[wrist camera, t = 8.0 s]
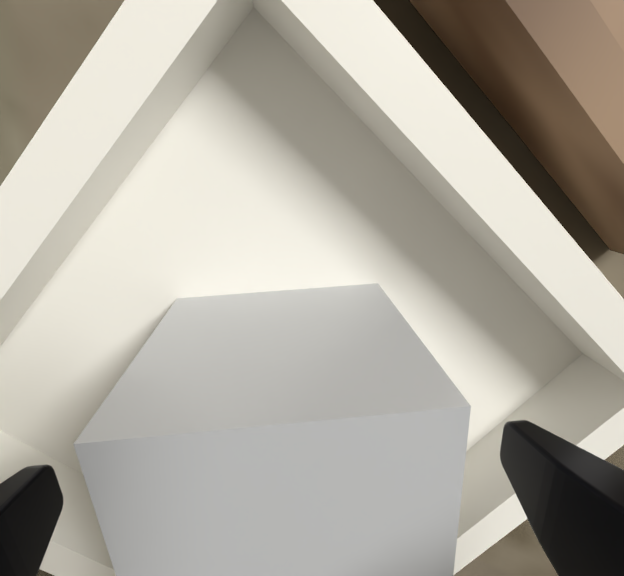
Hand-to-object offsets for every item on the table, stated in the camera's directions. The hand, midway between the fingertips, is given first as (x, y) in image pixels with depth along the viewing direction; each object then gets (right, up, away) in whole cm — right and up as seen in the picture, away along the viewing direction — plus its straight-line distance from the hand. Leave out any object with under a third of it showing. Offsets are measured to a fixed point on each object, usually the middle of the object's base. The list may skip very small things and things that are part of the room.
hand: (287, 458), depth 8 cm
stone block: (0, +1, +3) cm, 3 cm away
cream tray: (0, +1, +3) cm, 4 cm away
